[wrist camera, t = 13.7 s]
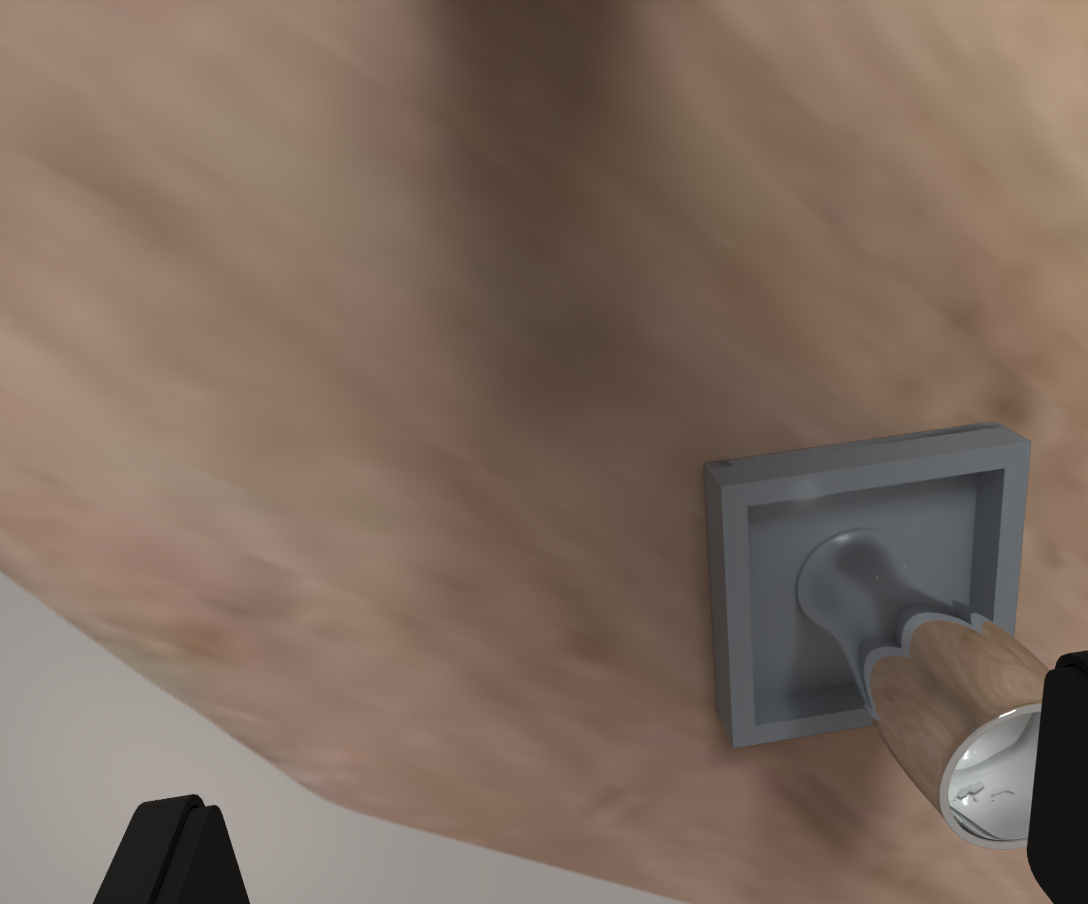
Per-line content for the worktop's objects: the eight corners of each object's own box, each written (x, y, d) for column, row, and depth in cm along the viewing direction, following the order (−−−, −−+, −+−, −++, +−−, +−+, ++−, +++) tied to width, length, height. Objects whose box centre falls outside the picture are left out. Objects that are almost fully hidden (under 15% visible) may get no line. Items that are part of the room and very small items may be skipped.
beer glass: (933, 602, 47) (1137, 804, 33) (814, 660, 48) (966, 882, 34) (892, 497, 45) (1094, 667, 31) (767, 559, 45) (909, 754, 31)
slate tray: (703, 463, 44) (721, 486, 41) (994, 421, 45) (1031, 441, 42) (717, 712, 49) (733, 748, 46) (976, 671, 50) (1008, 703, 47)
